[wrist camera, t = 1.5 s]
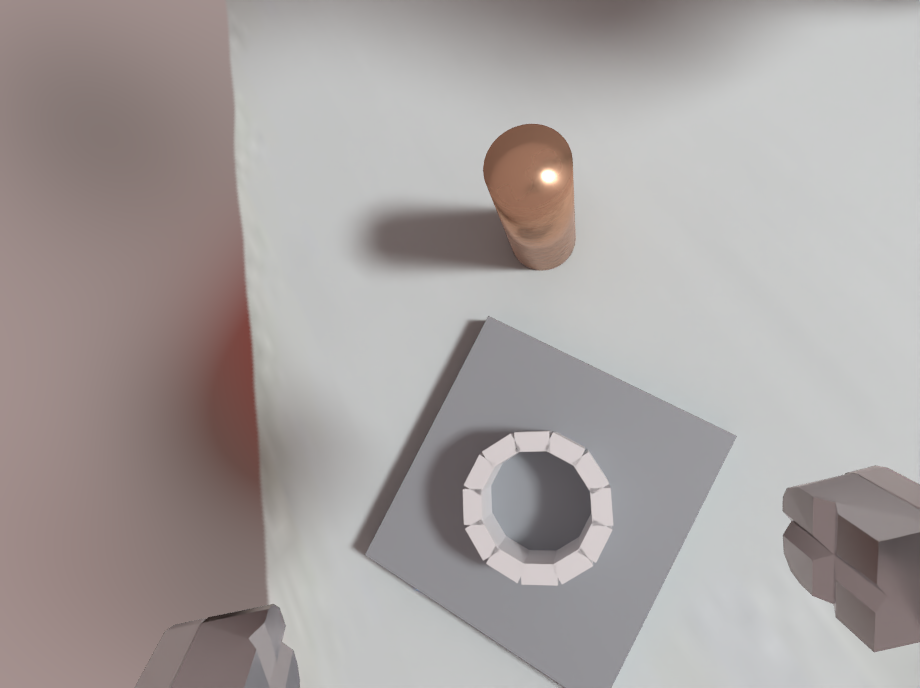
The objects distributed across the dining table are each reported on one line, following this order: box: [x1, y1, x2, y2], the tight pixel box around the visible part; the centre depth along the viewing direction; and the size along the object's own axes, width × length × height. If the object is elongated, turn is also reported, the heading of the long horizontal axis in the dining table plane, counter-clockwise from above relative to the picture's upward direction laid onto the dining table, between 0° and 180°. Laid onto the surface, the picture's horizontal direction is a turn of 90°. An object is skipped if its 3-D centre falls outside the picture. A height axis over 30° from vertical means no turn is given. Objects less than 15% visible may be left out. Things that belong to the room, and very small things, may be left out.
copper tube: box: [483, 124, 576, 270], centre depth 29 cm, size 4×4×10 cm
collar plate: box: [365, 316, 737, 688], centre depth 29 cm, size 16×15×4 cm
